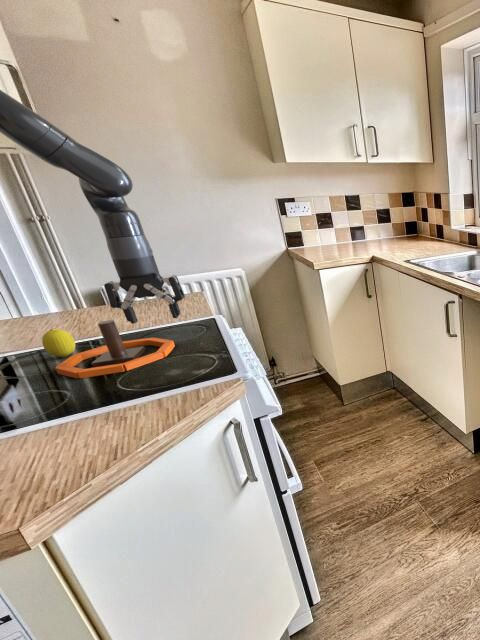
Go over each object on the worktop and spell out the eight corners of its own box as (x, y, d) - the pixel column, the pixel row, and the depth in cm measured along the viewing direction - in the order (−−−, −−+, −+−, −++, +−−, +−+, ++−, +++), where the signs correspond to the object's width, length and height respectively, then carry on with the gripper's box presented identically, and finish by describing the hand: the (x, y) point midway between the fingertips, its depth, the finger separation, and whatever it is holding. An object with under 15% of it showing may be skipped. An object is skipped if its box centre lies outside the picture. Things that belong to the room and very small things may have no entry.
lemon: (65, 362, 105) (52, 332, 102) (43, 362, 105) (29, 332, 102) (86, 353, 110) (74, 324, 107) (65, 354, 110) (52, 325, 107)
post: (93, 368, 101) (76, 329, 97) (107, 357, 107) (92, 319, 104) (134, 362, 103) (119, 324, 100) (146, 351, 110) (132, 315, 107)
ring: (43, 385, 93) (39, 378, 92) (87, 352, 111) (84, 346, 110) (158, 367, 100) (155, 360, 100) (182, 339, 118) (180, 333, 117)
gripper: (86, 260, 94) (114, 329, 100) (163, 254, 99) (185, 319, 105) (101, 255, 100) (126, 320, 106) (173, 250, 105) (193, 312, 111)
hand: (155, 320), depth 106 cm, fingers open, 8 cm apart
